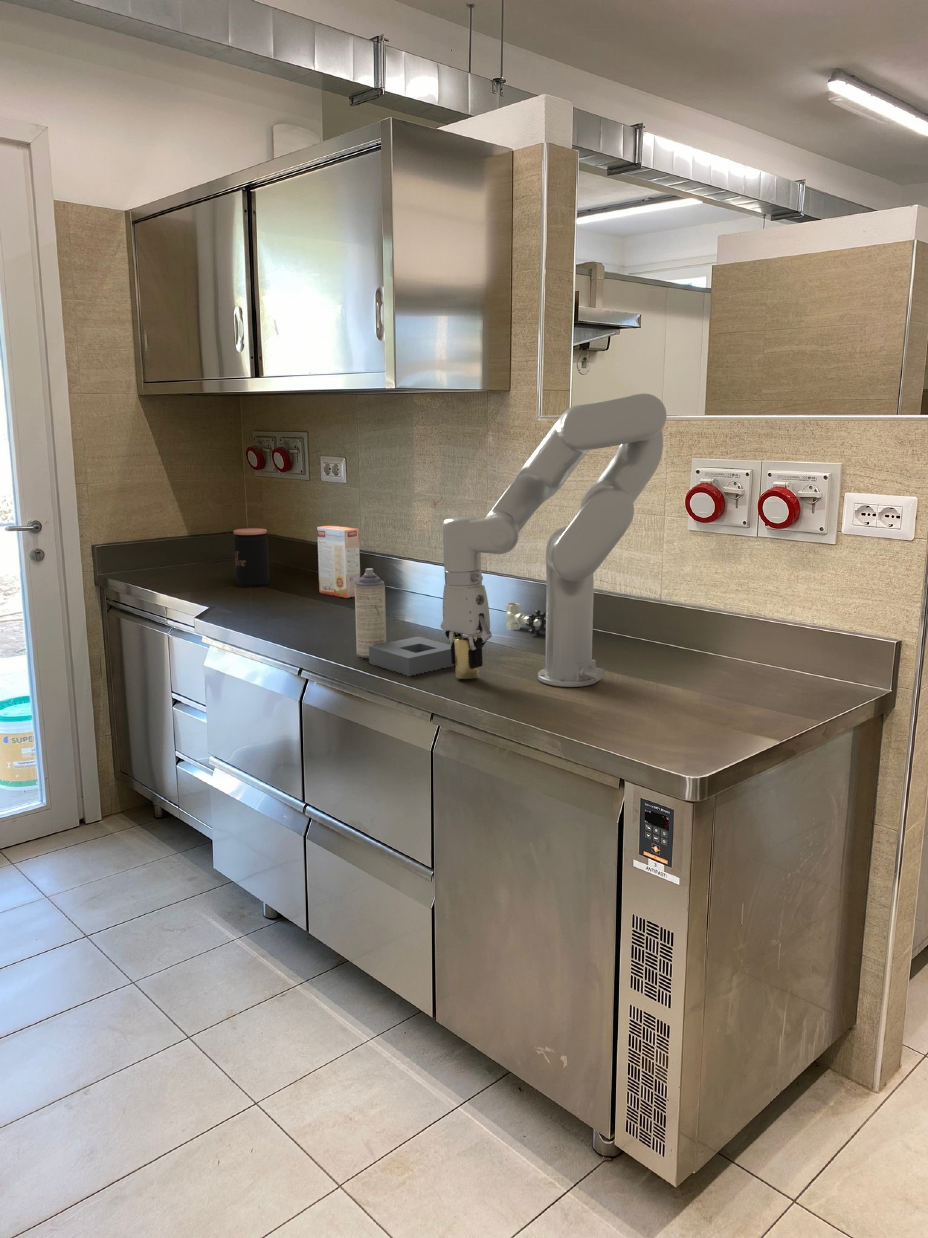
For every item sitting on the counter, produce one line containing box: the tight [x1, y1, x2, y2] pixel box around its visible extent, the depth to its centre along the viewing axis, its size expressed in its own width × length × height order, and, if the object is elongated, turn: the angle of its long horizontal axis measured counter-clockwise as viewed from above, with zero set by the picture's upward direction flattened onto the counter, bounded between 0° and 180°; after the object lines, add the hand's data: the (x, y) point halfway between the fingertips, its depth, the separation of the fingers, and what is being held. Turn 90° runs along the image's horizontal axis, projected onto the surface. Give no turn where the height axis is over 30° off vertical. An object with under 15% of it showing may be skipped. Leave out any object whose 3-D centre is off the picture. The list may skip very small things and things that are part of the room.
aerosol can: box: [354, 567, 387, 659], centre depth 209 cm, size 7×7×20 cm
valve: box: [504, 602, 546, 637], centre depth 234 cm, size 7×7×12 cm
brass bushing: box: [454, 635, 480, 680], centre depth 191 cm, size 5×5×8 cm
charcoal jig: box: [368, 636, 455, 677], centre depth 203 cm, size 14×14×4 cm
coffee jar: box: [232, 527, 270, 588], centre depth 300 cm, size 11×11×18 cm
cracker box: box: [316, 525, 361, 599], centre depth 282 cm, size 14×6×21 cm, turn 44°
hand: (466, 664), depth 191 cm, fingers closed on brass bushing, 4 cm apart
